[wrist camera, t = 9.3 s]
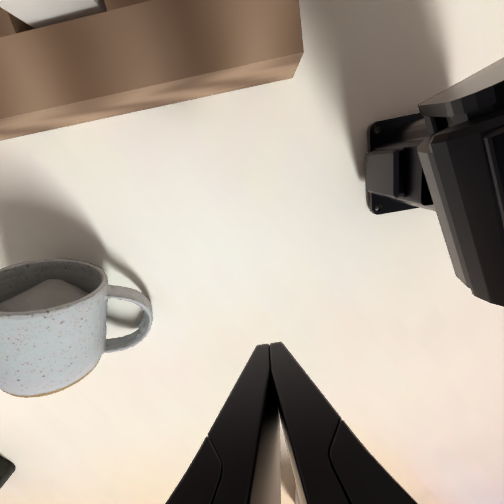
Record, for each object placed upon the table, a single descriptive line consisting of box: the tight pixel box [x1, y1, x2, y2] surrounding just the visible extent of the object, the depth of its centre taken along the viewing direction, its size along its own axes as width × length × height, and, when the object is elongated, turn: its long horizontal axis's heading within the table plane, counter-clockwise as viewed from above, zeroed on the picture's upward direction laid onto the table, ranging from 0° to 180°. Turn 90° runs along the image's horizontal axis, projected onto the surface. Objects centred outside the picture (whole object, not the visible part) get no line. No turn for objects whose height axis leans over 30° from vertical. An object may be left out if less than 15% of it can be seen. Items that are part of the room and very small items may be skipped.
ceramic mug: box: [0, 259, 153, 398], centre depth 19 cm, size 11×8×8 cm
